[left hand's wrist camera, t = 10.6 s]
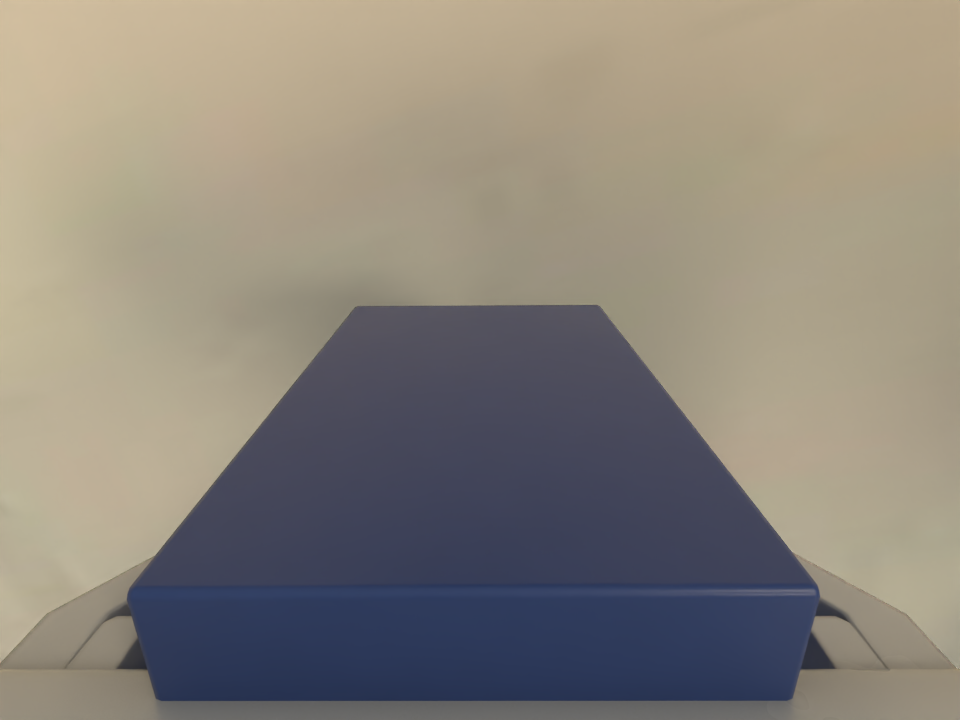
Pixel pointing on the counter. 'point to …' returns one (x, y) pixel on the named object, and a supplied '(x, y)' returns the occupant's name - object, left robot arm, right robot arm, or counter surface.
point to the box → (475, 532)
